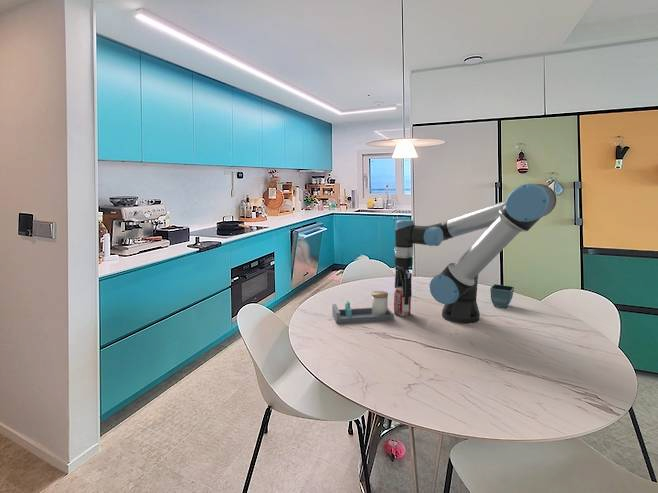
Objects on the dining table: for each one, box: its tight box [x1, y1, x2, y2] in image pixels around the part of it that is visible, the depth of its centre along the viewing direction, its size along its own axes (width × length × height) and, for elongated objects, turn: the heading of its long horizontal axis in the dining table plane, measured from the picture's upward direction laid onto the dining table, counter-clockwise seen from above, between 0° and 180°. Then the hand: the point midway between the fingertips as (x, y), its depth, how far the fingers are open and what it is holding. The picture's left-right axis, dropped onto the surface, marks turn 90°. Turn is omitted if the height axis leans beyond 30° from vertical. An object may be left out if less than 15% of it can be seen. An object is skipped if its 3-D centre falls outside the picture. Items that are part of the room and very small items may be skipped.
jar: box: [371, 290, 389, 316], centre depth 156 cm, size 7×7×10 cm
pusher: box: [344, 300, 352, 317], centre depth 154 cm, size 1×8×7 cm, turn 8°
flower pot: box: [489, 283, 515, 309], centre depth 169 cm, size 9×9×9 cm
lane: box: [331, 303, 395, 325], centre depth 155 cm, size 24×11×5 cm, turn 98°
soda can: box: [393, 286, 412, 317], centre depth 158 cm, size 7×7×12 cm
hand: (402, 308), depth 158 cm, fingers closed on soda can, 7 cm apart
